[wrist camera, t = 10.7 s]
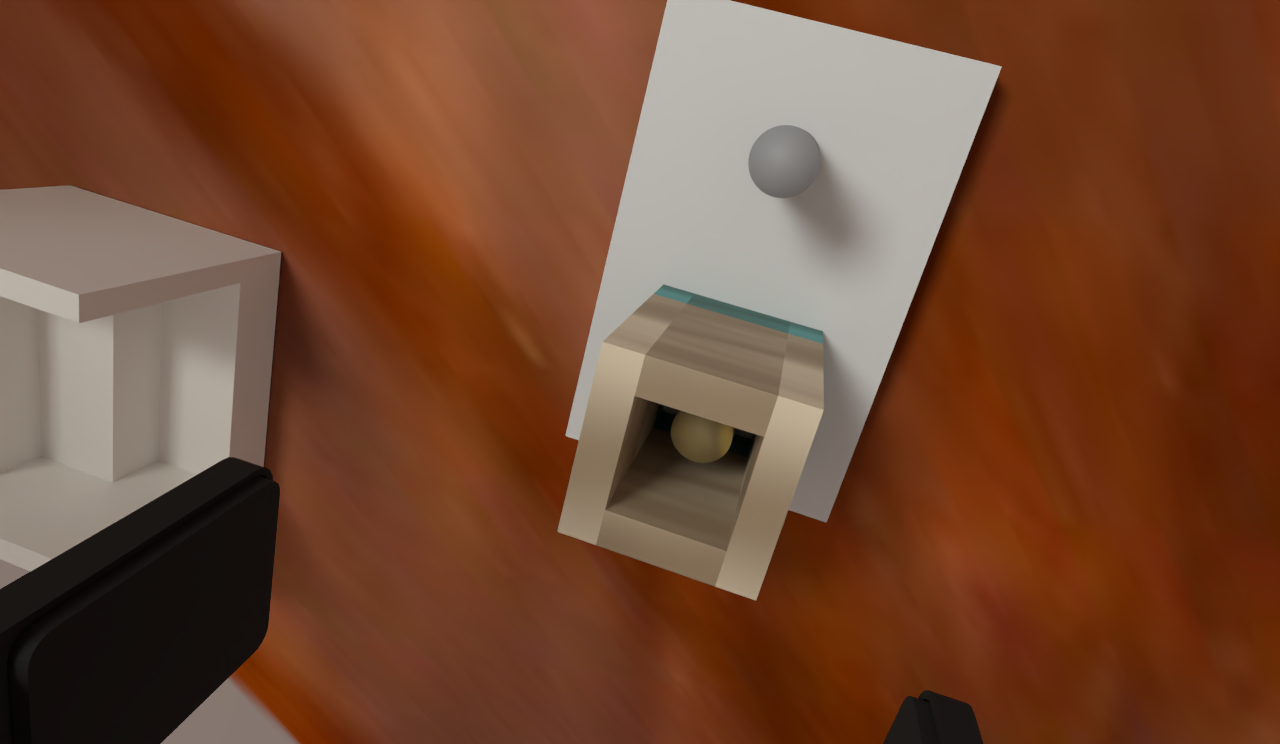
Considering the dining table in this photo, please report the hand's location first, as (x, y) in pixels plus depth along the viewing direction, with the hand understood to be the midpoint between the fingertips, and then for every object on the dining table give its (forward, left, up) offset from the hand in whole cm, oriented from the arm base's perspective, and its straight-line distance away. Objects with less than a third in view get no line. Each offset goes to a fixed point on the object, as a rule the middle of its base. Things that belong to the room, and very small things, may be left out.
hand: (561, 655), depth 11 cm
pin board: (+1, +3, -15) cm, 16 cm away
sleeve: (+1, 0, -14) cm, 14 cm away
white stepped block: (-20, -6, -15) cm, 26 cm away
